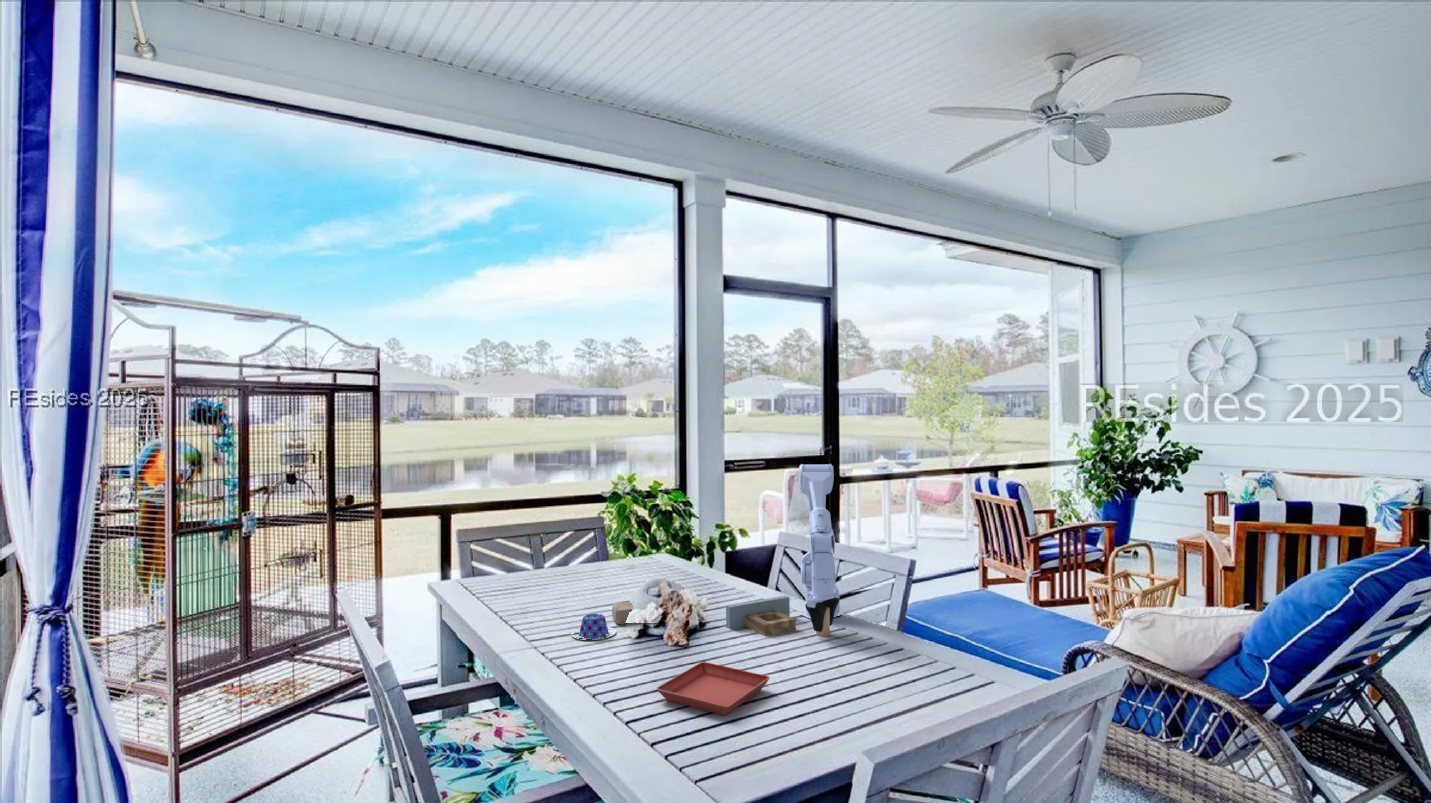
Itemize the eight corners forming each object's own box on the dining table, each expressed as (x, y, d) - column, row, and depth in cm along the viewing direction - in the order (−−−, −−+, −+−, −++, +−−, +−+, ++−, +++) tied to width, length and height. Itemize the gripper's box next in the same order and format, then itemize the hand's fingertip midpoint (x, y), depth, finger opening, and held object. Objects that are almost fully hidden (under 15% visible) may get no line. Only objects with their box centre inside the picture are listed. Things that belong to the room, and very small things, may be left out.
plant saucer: (728, 722, 145) (727, 705, 145) (654, 703, 155) (654, 687, 155) (771, 691, 160) (771, 676, 160) (702, 675, 170) (702, 661, 170)
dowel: (824, 631, 200) (824, 605, 200) (832, 635, 197) (832, 609, 197) (813, 633, 199) (813, 607, 199) (821, 637, 195) (821, 611, 195)
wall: (785, 616, 215) (785, 595, 215) (789, 617, 213) (789, 597, 213) (726, 627, 205) (726, 605, 205) (729, 628, 204) (729, 607, 204)
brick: (667, 613, 221) (666, 597, 221) (673, 621, 212) (672, 604, 212) (611, 618, 216) (611, 602, 216) (615, 626, 208) (615, 610, 208)
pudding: (592, 645, 192) (592, 625, 192) (562, 637, 199) (561, 617, 199) (625, 633, 201) (625, 614, 201) (595, 626, 209) (595, 607, 209)
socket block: (775, 620, 211) (775, 610, 211) (795, 630, 202) (795, 619, 202) (745, 626, 206) (745, 615, 206) (765, 636, 197) (764, 624, 197)
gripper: (820, 570, 206) (821, 618, 206) (796, 581, 194) (797, 632, 194) (844, 573, 202) (844, 622, 202) (821, 584, 190) (821, 637, 190)
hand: (822, 628), depth 198 cm, fingers open, 5 cm apart
